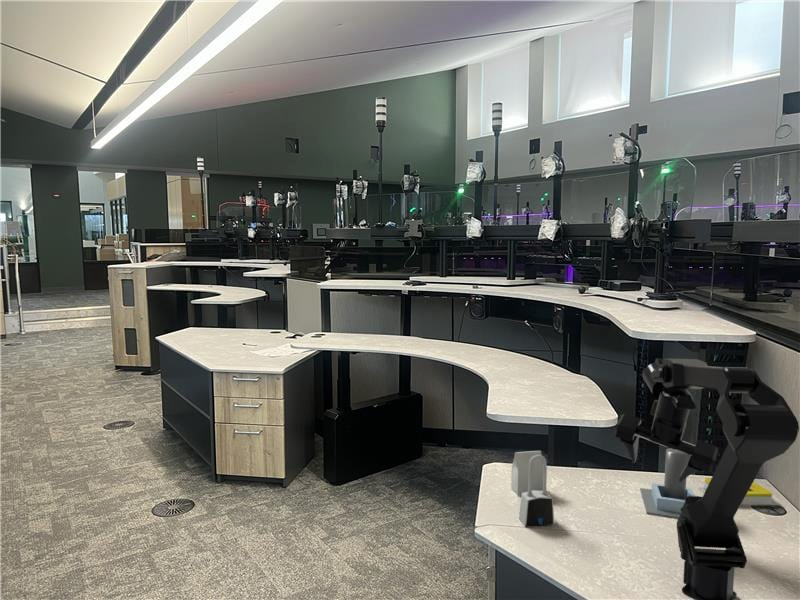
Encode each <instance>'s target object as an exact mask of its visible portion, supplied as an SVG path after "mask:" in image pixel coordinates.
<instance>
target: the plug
mask: <svg viewBox="0 0 800 600" xmlns="http://www.w3.org/2000/svg"><path fill="white" fill-rule="evenodd" d="M688 455H689V454H687V453H685V452H682V451H679V450H677V449H675V450H674V449H672V448H669V447H668V448H666V449H665V465H664V466H665V467H664V483H663V485H664V497H666V498H673V499H680V500H685V493H686V488H687V477H686V478H685V479H684V480H683V481H682V482H679V478H680V475H681V472H682V470H683V468H684V467H685V465H686V463H687V461H688Z"/></svg>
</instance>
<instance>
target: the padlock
mask: <svg viewBox="0 0 800 600" xmlns="http://www.w3.org/2000/svg"><path fill="white" fill-rule="evenodd" d="M537 458H540V459H542V461H543V490H542V491H537V490H533V491H531V488H532V465H533V461H534V460H535V459H537ZM547 466H548V465H547V459H546V457H545V456H544V455H543V454H541V455H535V456H533V457H532V458H531V460H530V463H529V479H528V492H524V493H522V494H521V495H520V503H519V504H520V505H519V506H520V507H519V514H518V515H519V516H518V520H519V522H520V523H521V524H522V525H523V526H524V528H541V527H546V526H553V525H555V516H554V515H555V514H554V512H555V511H554V498H553V497H552V496H551V495H550V494H549V492H548V491H547V481H548V480H547V475H548V473H547V472H548V471H547V469H548V467H547Z"/></svg>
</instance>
